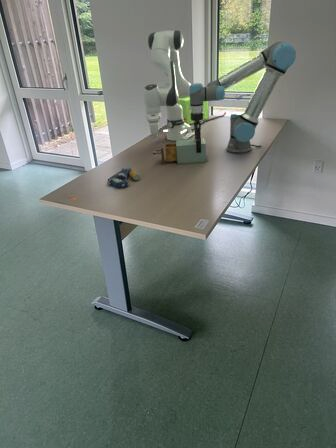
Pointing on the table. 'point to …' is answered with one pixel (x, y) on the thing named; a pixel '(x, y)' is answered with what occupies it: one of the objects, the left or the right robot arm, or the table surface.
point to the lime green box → (186, 111)
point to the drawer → (168, 152)
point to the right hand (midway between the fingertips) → (198, 149)
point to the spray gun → (123, 177)
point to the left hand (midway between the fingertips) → (156, 138)
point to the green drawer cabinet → (190, 151)
